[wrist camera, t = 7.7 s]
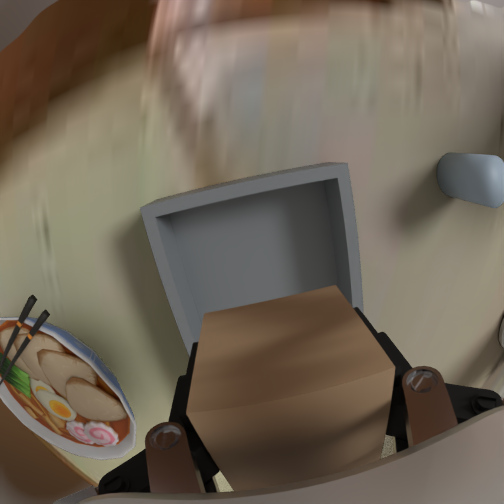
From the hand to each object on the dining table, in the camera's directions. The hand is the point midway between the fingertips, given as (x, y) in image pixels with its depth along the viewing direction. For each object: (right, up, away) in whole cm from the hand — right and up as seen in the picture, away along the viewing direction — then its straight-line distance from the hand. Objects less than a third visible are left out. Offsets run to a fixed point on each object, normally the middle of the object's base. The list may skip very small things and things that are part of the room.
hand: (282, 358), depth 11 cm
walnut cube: (0, 0, +1) cm, 1 cm away
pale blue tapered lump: (+21, +13, +15) cm, 29 cm away
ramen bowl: (-25, -11, +20) cm, 34 cm away
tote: (0, 0, +18) cm, 18 cm away
